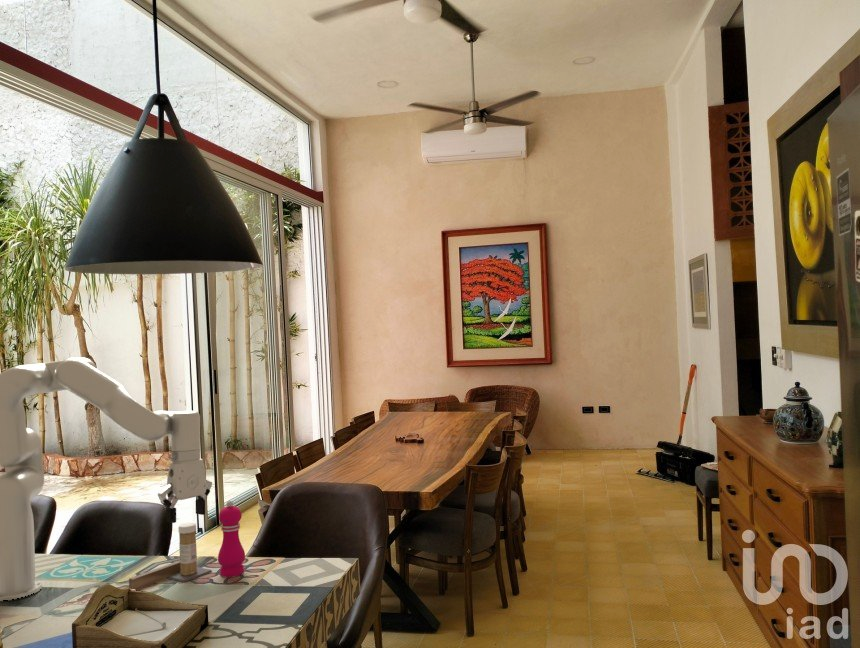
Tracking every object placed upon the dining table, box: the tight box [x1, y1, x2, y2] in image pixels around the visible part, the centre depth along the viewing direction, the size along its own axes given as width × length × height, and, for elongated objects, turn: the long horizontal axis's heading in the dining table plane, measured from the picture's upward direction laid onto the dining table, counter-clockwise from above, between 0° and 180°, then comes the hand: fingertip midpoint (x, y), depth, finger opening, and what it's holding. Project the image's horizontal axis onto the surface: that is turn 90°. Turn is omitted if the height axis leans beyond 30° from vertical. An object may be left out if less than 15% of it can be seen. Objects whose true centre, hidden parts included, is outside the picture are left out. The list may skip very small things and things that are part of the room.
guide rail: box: [128, 559, 181, 590], centre depth 186 cm, size 2×17×3 cm, turn 149°
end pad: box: [167, 566, 212, 583], centre depth 189 cm, size 7×9×1 cm
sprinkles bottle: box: [177, 522, 198, 575], centre depth 189 cm, size 5×5×14 cm
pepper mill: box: [217, 500, 246, 578], centre depth 189 cm, size 7×7×20 cm
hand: (186, 518), depth 189 cm, fingers open, 9 cm apart
